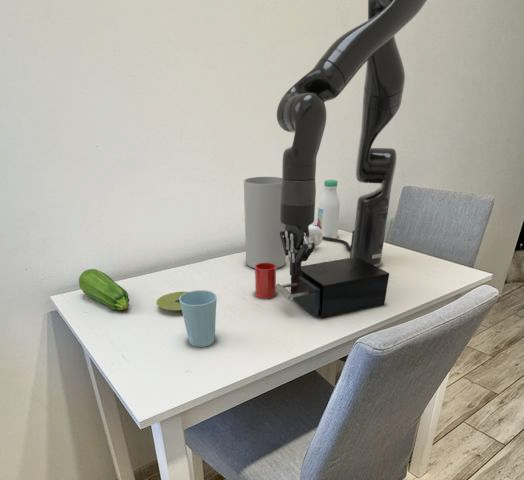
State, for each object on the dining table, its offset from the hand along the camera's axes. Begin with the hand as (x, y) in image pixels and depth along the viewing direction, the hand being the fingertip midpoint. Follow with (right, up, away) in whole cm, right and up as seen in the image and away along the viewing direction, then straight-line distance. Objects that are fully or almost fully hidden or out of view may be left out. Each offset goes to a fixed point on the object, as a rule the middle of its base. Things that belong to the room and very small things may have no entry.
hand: (295, 276), depth 100 cm
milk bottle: (+17, +25, +59) cm, 66 cm away
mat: (-29, -7, +7) cm, 30 cm away
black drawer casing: (+12, -5, +10) cm, 16 cm away
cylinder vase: (-7, +10, +34) cm, 36 cm away
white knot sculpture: (+6, +17, +46) cm, 49 cm away
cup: (-21, -16, -8) cm, 27 cm away
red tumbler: (-7, -3, +14) cm, 16 cm away
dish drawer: (+7, -5, +7) cm, 12 cm away
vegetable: (-48, -5, +10) cm, 49 cm away
